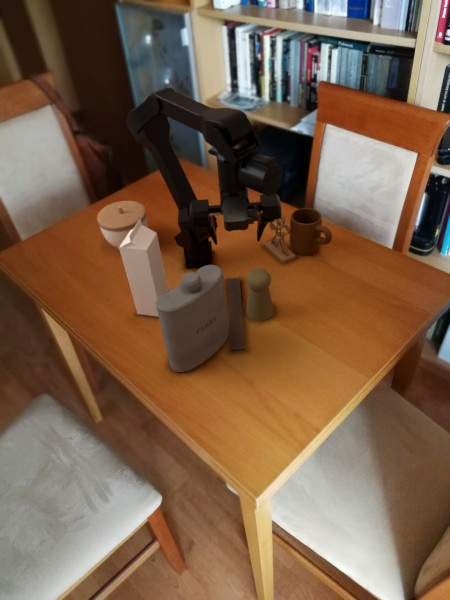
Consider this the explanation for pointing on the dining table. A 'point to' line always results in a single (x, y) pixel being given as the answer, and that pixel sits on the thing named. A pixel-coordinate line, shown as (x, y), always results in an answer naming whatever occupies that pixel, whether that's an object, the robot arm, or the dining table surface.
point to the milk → (144, 268)
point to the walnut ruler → (235, 315)
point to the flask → (194, 318)
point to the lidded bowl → (120, 220)
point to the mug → (307, 231)
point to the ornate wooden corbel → (276, 245)
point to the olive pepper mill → (259, 295)
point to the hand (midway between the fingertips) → (237, 242)
